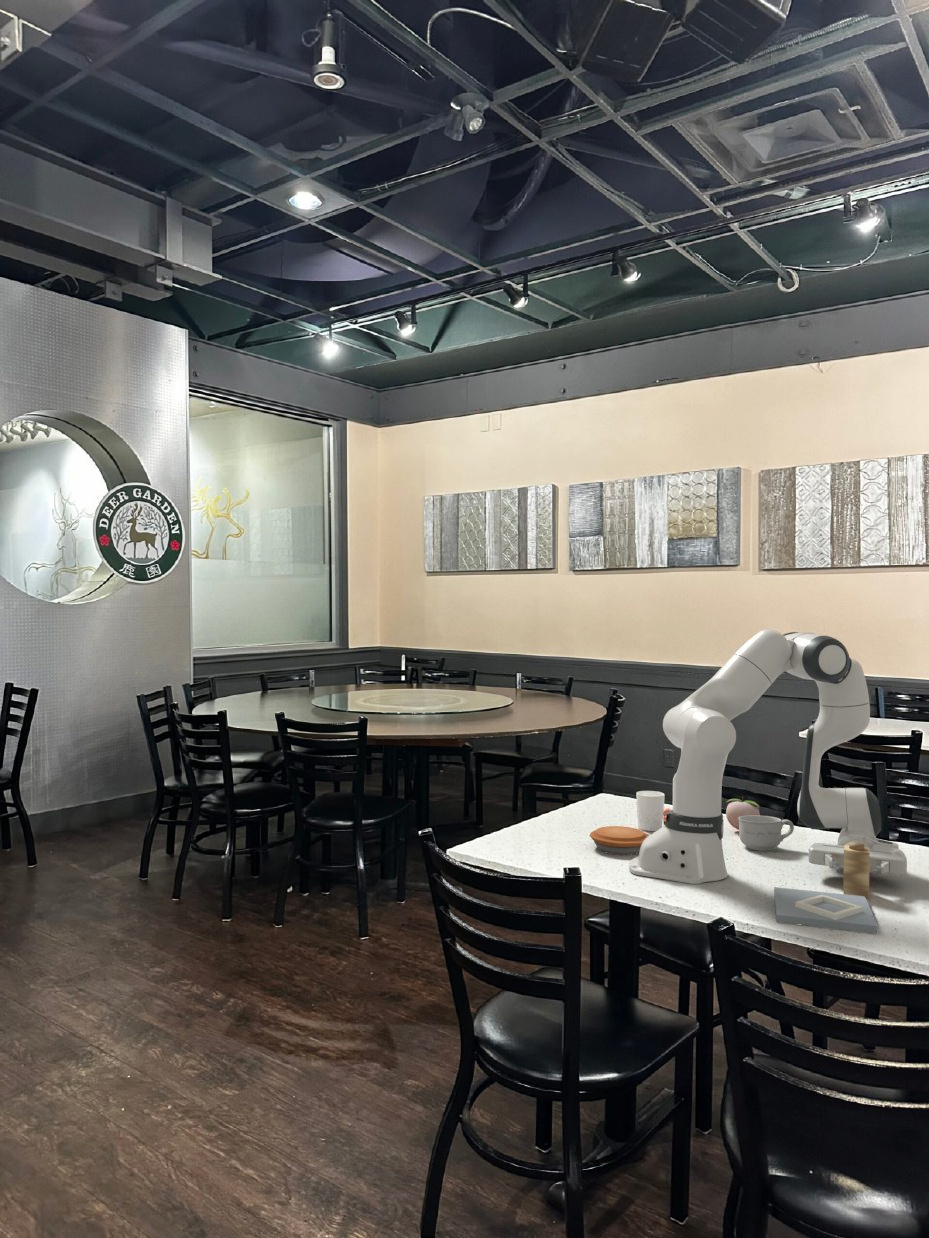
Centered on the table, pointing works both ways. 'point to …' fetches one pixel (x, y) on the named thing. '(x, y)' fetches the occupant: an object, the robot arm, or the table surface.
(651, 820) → the white cup
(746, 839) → the teacup
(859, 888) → the oak pillar
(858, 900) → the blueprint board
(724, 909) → the table surface
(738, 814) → the decorative fruit
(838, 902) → the socket frame
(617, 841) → the pie
